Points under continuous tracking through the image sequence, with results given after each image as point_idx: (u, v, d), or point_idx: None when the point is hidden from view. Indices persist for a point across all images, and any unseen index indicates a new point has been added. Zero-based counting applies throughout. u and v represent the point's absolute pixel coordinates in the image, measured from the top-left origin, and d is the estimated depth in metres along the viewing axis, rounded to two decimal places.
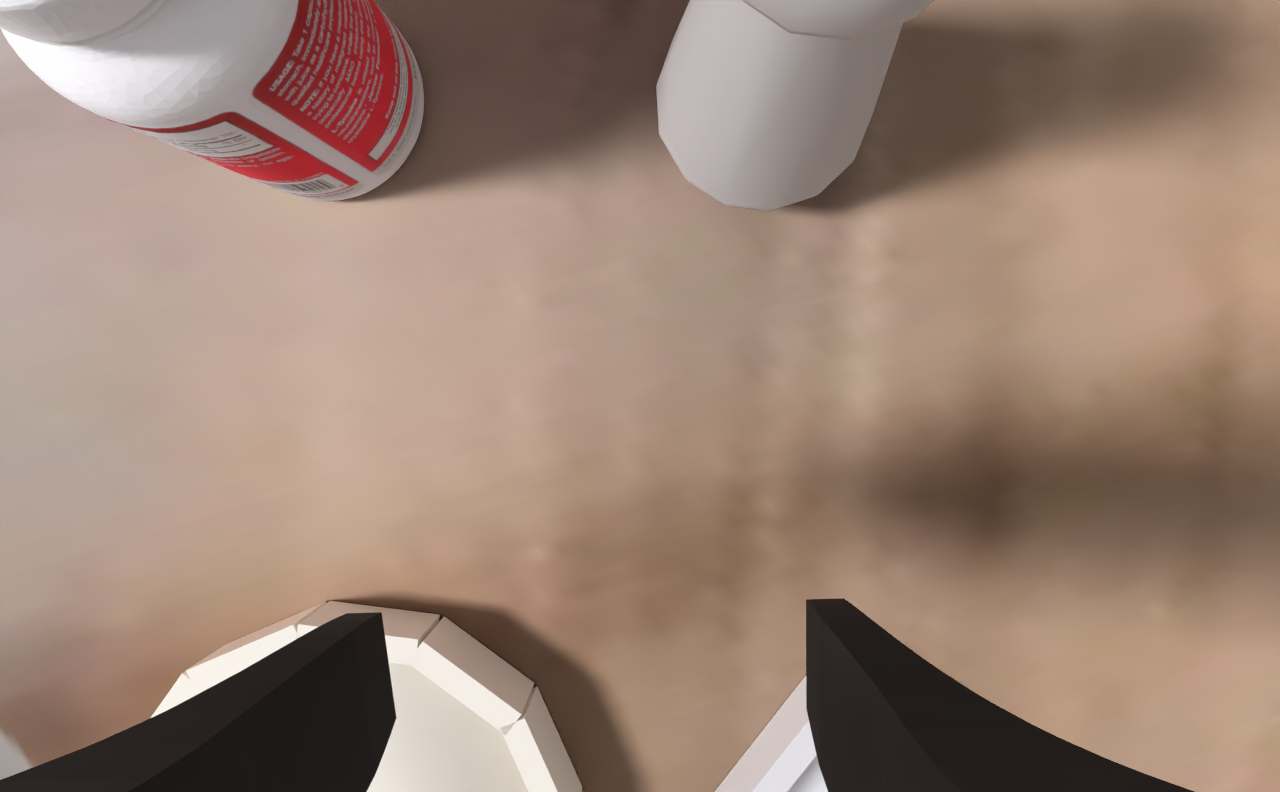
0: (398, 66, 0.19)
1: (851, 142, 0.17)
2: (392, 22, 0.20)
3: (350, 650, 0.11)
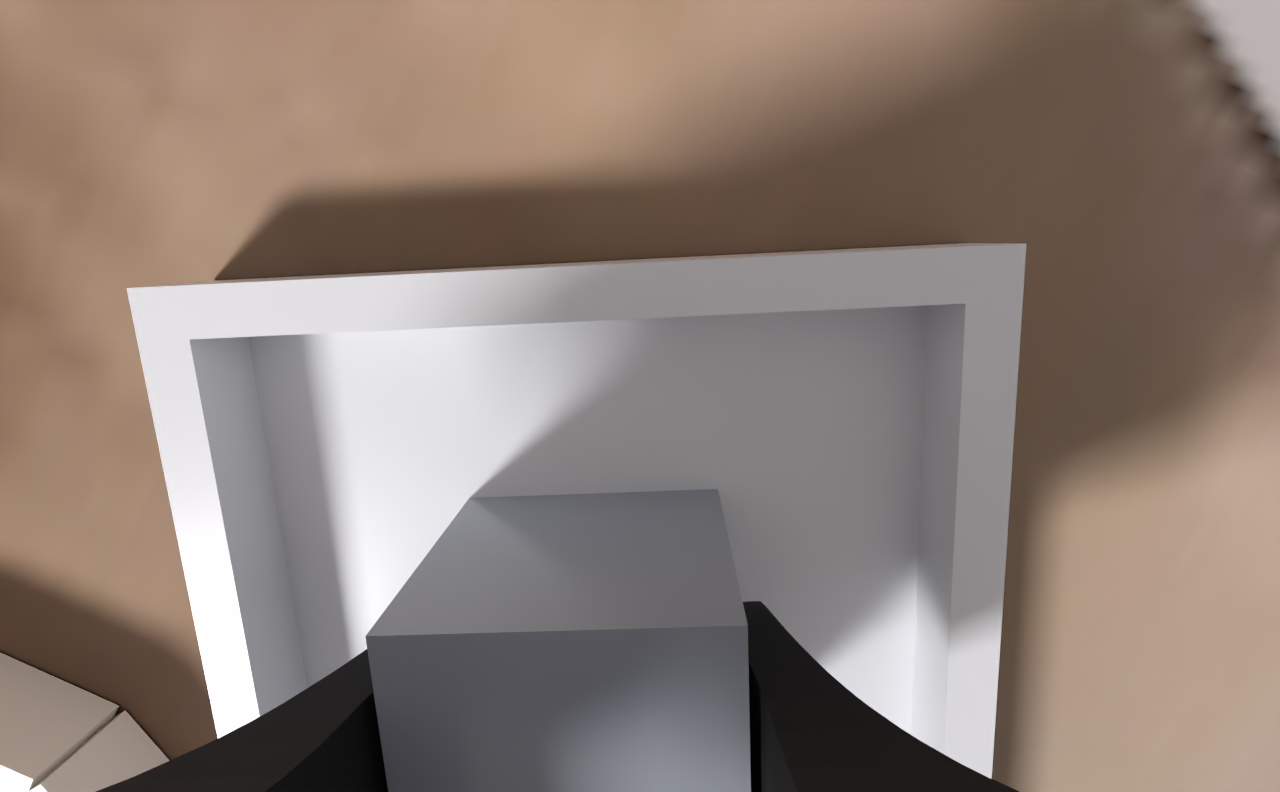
0: None
1: None
2: None
3: None
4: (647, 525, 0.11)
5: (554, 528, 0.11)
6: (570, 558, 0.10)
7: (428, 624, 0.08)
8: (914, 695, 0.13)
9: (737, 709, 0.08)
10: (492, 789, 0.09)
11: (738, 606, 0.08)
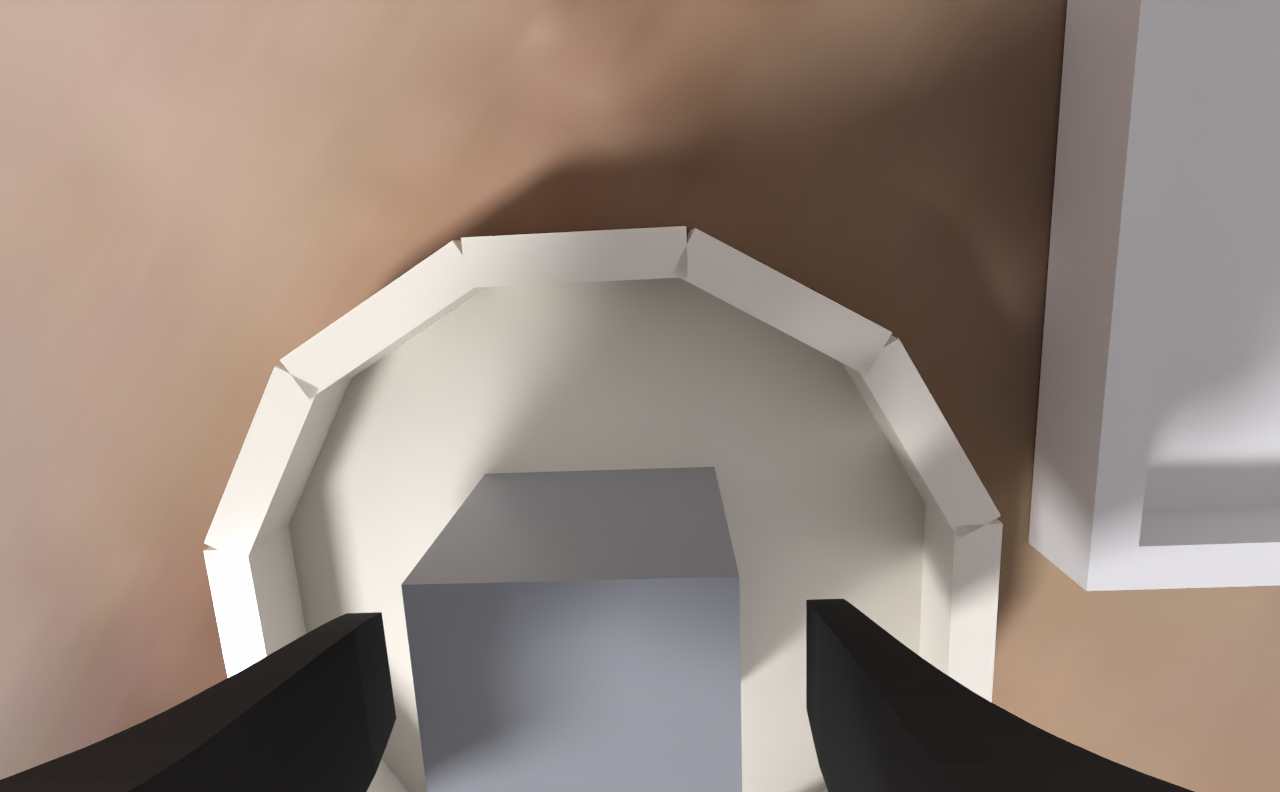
0: None
1: None
2: None
3: (350, 650, 0.11)
4: (649, 496, 0.12)
5: (565, 499, 0.12)
6: (580, 524, 0.11)
7: (456, 576, 0.09)
8: None
9: (729, 651, 0.09)
10: (512, 723, 0.10)
11: (731, 561, 0.09)
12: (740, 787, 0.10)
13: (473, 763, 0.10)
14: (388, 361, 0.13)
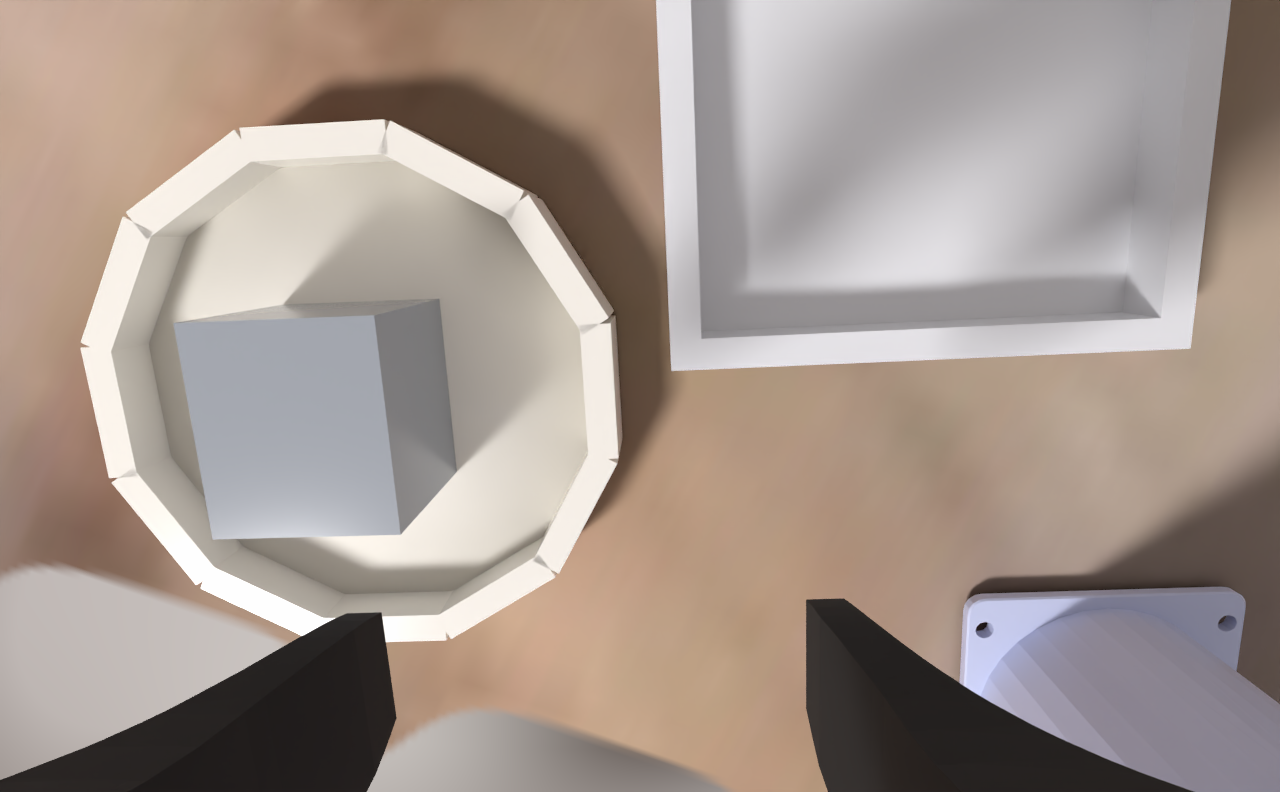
0: None
1: None
2: None
3: (350, 650, 0.11)
4: (374, 305, 0.18)
5: (318, 307, 0.18)
6: (312, 311, 0.17)
7: (210, 320, 0.15)
8: (1138, 156, 0.18)
9: (373, 364, 0.15)
10: (247, 415, 0.16)
11: (379, 313, 0.15)
12: (389, 456, 0.16)
13: (225, 443, 0.16)
14: (211, 223, 0.19)
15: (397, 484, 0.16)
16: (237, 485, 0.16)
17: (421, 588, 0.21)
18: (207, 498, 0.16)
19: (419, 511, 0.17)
